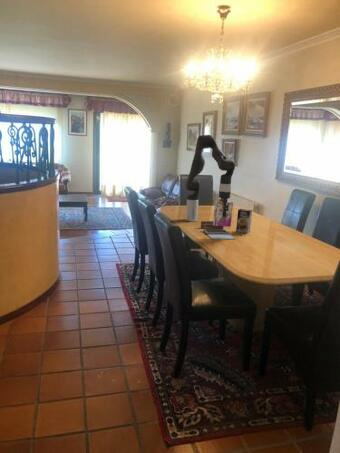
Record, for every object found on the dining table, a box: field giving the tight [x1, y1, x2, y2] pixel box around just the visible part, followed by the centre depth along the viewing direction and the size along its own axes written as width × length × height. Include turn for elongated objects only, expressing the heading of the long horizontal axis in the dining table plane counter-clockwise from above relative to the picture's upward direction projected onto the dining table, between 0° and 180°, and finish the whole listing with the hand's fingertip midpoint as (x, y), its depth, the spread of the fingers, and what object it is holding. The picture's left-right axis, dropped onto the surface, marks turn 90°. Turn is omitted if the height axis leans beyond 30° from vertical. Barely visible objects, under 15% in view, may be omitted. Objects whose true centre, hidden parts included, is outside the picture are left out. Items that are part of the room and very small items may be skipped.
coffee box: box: [235, 208, 253, 234], centre depth 267 cm, size 9×6×16 cm
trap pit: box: [203, 228, 231, 236], centre depth 259 cm, size 10×16×2 cm, turn 100°
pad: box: [207, 234, 236, 240], centre depth 249 cm, size 10×16×1 cm, turn 100°
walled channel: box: [200, 220, 224, 230], centre depth 270 cm, size 11×14×5 cm
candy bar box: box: [212, 200, 234, 228], centre depth 245 cm, size 11×5×16 cm, turn 100°
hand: (222, 215), depth 246 cm, fingers closed on candy bar box, 5 cm apart
